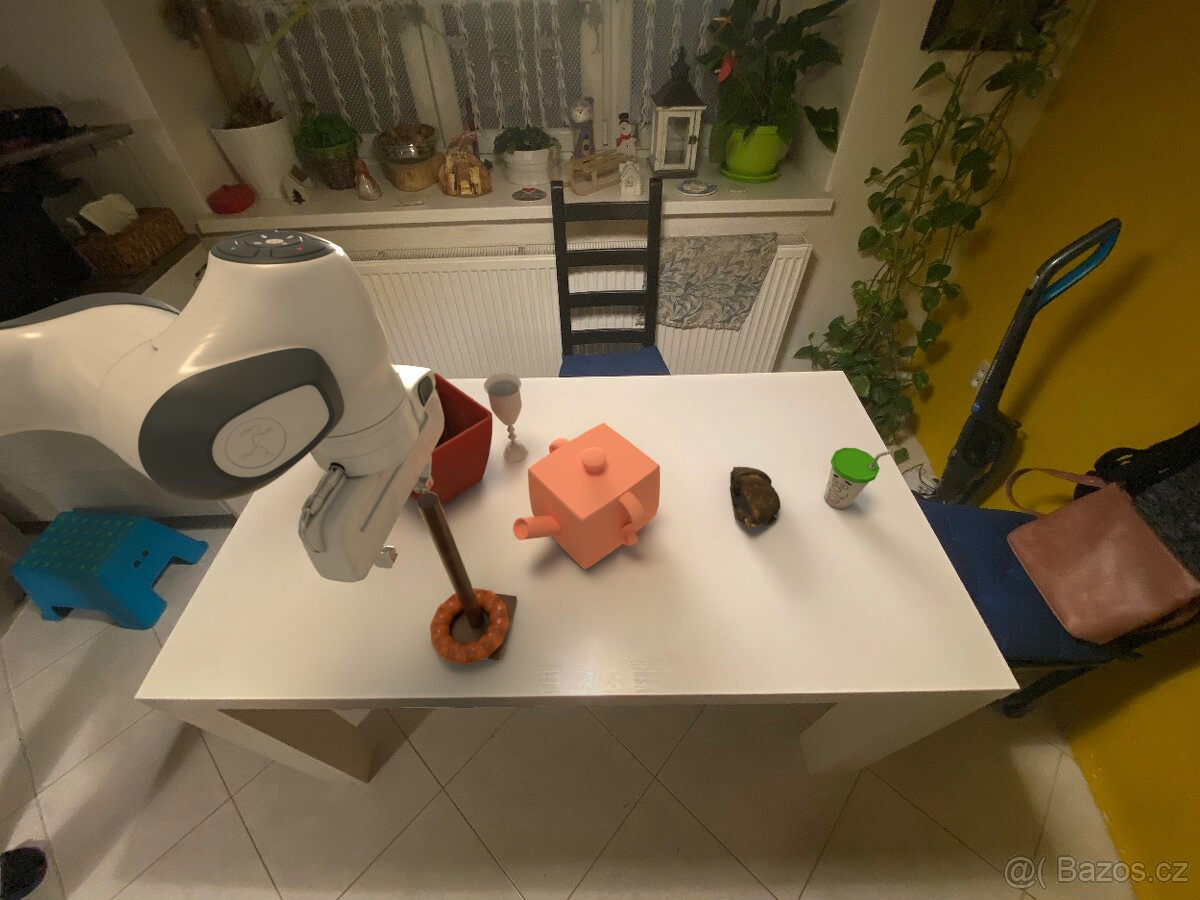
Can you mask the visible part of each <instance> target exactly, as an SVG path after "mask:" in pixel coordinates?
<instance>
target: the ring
mask: <svg viewBox="0 0 1200 900" xmlns="http://www.w3.org/2000/svg"><path fill="white" fill-rule="evenodd" d="M473 590H474V592H475V595H476V598H477V600H478V603H479V605H480V608H483V609H484V610H485V611H486V612H487V613H488V614H489V619H490V624H489V627H488V630H487V632H486V633H485V634H484V635H483V636H482V637H481V638H480V639H479V640H477V641H474V642H471V643H468V644H465V643H460V642H456V641H455V640H454V639H453V638H452V637H451V635H450V628H449V627H450V625H451V622H452V620H453V618H454V617H455V616H456V615H457V614H458V613H459V612H460V611H461V610H463V609H462V607H461V604H460V602H459V600H458V598H457V595H456V593H455V592H454V593H452V594H451V595H450V596H449V597H448V598H447V599H445V600H444V601H443V602H442V603H441V604H440V605H438V607H437V609H436V611H435V612H434V615H433V617H432V620H431V621H430V624H429V633H430V634H429V635H430V645H431V647H432V648H433V649H434V651H437V652H436V653H437V654H438V655H439V656H440V657H441V658H442V659H443V660H444V661H446V662H448V663H453V664H458V665H463V666H467V665H470V664H473V663H476V662H480V661H483V660H487V659H486V658H487V657H489V656H490V655H491V654H492V653H493V652H494V651H495V650H496V649H497V648H498V647H499V646H500V645H501V644H502V643H503V641H504V638H505V635H506V632H507V629H508V626H509V617H508V613H507V609H506V605H505V603H504V602H503V601H502V600H501V599H500V598H499V597H498V596H497V595H496V594H494V593H495V592H493V591H492V590H488V589H484V588H476V587H473Z"/></svg>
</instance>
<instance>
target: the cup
mask: <svg viewBox="0 0 1200 900" xmlns="http://www.w3.org/2000/svg"><path fill="white" fill-rule="evenodd" d="M891 454H893V450H892V449H890V450H885V451H883V452H880V453H877V454H876V455H875V457H873V456H872V455H871V454H870V453H869V452H867V451H864V450H862V449H859V448H857V447H842V448H840V449H838V450H835V451H834V453H833V455H832V457H831V459H830V465H831V467H830V472H829V476H828V479H827V483H826V487H825V492H824V496H823V498H824V501H825V503H826V504H827V505H828V506H829V507H831V508H834V509H835V510H845V509H847V508H849V506H851V504H852V503H853V502H854V500H856V498H857V497H858V496H859V495H860V494H861V493H862V491H864V489H865V488H866V486H868V485H869V483H870V482H872V481H875V480H876V478H877V476H878V474H879V472H880V466H879V463H878V460H879V459H880V458H881V457H884V456H887V455H891Z"/></svg>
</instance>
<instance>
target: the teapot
mask: <svg viewBox="0 0 1200 900" xmlns="http://www.w3.org/2000/svg"><path fill="white" fill-rule="evenodd" d="M548 451H549V454H547V455H545V456H544V457H543V458H541V459H540V460H537V462H535V463H534V464H532V465H531V466H529V468H528V469H527V480H528V481H527V482H528V484H527V485H528V494H529V503H530V508H531V512H532V516H527V517H525V516H524V517H518V518H517V519H516V520H515V521H514V522H513V526H512V532H513V535H514V537H515V538H516V539H517V540H519V541H524V540H531V539H539V538H547V537H551V538H552V539H554V541H555V542H556V543H557V545H559V546H560V547H561V548H562V549H563V550H564V551H565V552H566V553H567V554H568V555H569V556H570V557H571V559H573V561H575V562H576V563H577V564H578V565H579V566H580V567H581V568H582V569H583V570H587V569H588V568H590V567H592V566H593V565H595V564H596V563H598V562H599V561H601V560H602V559H603V558H605V557H606V556H608V555H609V554H611V553H612V552H614V551H615V550H616V549H617V548H619V547H620V546H621V545H624V546H627V547H630V546H631V547H632V546H634V545H635V544H637V542H638V540H639V536H638V534H637V533H638V532H639V531H640V530H641V529H642V528H644V527H645V526H646V525H647V524H649V523H650V522H651V521H652V520H653V519H654V518H655V517H656V516H657V513H658V510H659V505H660V493H661V466H660V465H659V463H658V462H656V461H655V460H654V459H653V458H651V457H649V455H647V454H646V453H645V452H643V451H642V450H641V449H640V448H638V447H637V446H636V445H634V444H633V443H632V442H630V441H629V440H628V439H627V438H625V437H624V436H622V435H621V434H620V433H618V432H617V431H616V430H615V429H614V428H611V426H609V425H608V424H606V423H605V422H603V423H600V424H598V425H596V426H594V427H592V428H590V429H588V430H586V431H585V432H583V433H581V434H579V435H578V436H576V437H575V438H573V439H571V440H569V439H567V438H566V437H565V438H564V437H559V438H556V439H555V440H553V441H552V442H551V443H550V444H549V447H548Z"/></svg>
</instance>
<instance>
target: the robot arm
mask: <svg viewBox="0 0 1200 900" xmlns="http://www.w3.org/2000/svg"><path fill="white" fill-rule="evenodd" d="M206 265H207V266H206V268H205V272H204V274H203V276H202V279H201V280H200V282H199V284H198V285H197V288H196V289H195V292H194V294H193V295H192V296H191V298H190V299H189V301H188V303H187V304H186V305H185V307H184V308H183V309H182V311H180V310H178V309H177V308H175V307H174V306H172V305H170V304H168V303H165V302H163V301H162V300H159V299H156V298H152V297H149V296H145V295H142V294H137V293H129V292H118V291H117V292H97V293H91V294H86V295H85V294H84V295H82V296H78V297H74V298H70V299H67V300H65V301H61V302H59V303H55V304H52V305H50V306H48V307H45V308H42V309H39V310H37V311H35V312H34V311H33V312H31V313H28V314H26V315H23V316H19V317H16V318H13V319H9V320H4V321H1V322H0V437H4V436H8V435H13V434H17V433H22V432H23V433H24V432H30V431H59V432H60V431H61V432H65V433H66V432H67V433H74V434H77V435H81V436H86V437H91V438H93V439H94V440H96V441H98V442H99V443H101V445H102V446H104V447H106V448H108V449H109V450H110V451H112V453H113V454H114V455H115V456H118V457H119V458H120V460H122V461H123V462H124V463H126V464H127V465H129V466H130V467H131V468H132V469H134V470H136V471H137V472H139V473H140V474H141V475H143V476H144V477H146V478H147V479H149V480H150V481H152V482H153V483H155V485H157V486H158V487H159V488H161V489H162V490H164V491H166V492H168V493H169V494H171V495H174V496H176V497H179V498H182V499H186V500H191V501H196V502H197V501H198V502H220V501H227V500H232V499H237V498H240V497H244V496H247V495H249V494H252V493H255V492H257V491H260V490H261V489H263V488H265V487H267V486H268V485H270V484H272V483H273V482H275V481H276V480H277V479H279V478H280V477H282V476H283V475H285V474H286V473H287V472H288V471H290V470H291V469H292V468H293V467H295V466H296V465H297V464H298V463H299V462H300V461H301V460H303V459H304V458H306V456H308V455H309V453H310V455H311V456H312V458H313V460H314V461H315V463H316V465H317V466H318V467H319V468H320V469H321V470H323V471H324V472H325V473H324V474H323V475H322V477H321V478H320V480H319V481H318V484H317V486H316V487H315V489H314V490H313V492H312V494H310V495H309V496H308V497H307V498H306V499H305V501H304V503H303V505H302V507H301V514H300V516H299V519H298V529H297V534H298V536H299V539H300V540H301V543H302V545H303V548H304V550H305V552H306V554H307V556H308V558H309V560H310V562H311V564H312V565H313V567H314V569H315V570H316V572H317V573H318V575H319V576H320V577H321V578H324V579H326V580H329V581H335V582H341V583H357V582H361V581H363V580H365V579H366V578H367V577H368V576H369V573H370V571H371V569H372V567H373V566H374V567H376V568H382V569H392V568H393V566H394V563H395V562H396V560H397V558H398V556H399V554H398V552H397V550H396V548H395V546H393V545H385V543H386V541H387V540H388V537H389V535H390V534H391V532H392V530H393V528H394V526H395V524H396V523H397V521H398V518H399V516H400V514H401V513H402V511H403V508H404V507H405V505H406V503H407V501H408V500H409V497H410V493H411V492H412V490H413V491H415V492H416V493H424V494H428V493H429V491H430V489H431V487H432V485H433V483H434V482H433V479H432V477H431V462H432V456H431V454H432V452H433V450H434V448H435V446H436V444H437V442H438V440H439V438H440V437H441V435H442V433H443V429H444V414H443V410H442V406H441V403H440V399H439V396H438V393H437V391H436V389H435V385H436V381H435V376H434V373H435V372H434V371H433V370H432V369H431V368H427V367H421V366H415V365H406V364H395V363H394V364H393V363H392V362H391V360H390V345H389V339H388V336H387V333H386V330H385V327H384V326H383V322H382V320H381V318H380V314H379V312H378V310H377V307H376V305H375V303H374V300H373V298H372V296H371V294H370V291H369V289H368V288H367V285H366V284H365V282H364V279H363V277H362V276H361V274H360V272H359V270H358V268H357V267H356V265H355V264H354V262H353V261H352V260H351V258H350V256H349V255H348V254H347V253H346V251H345V250H344V249H343V248H342V247H341V246H339V245H337V244H335V243H334V242H332V241H330V240H328V239H325V238H322V237H319V236H316V235H314V234H309V233H307V232H306V233H305V232H301V231H297V230H277V229H266V230H256V231H248V232H243V233H240V234H235V235H231V236H229V237H226V238H224V239H223V240H221V241H219V242H217V243H215V244H213V246H212V247H211V248H210V249H209V251H208V257H207V264H206Z"/></svg>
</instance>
